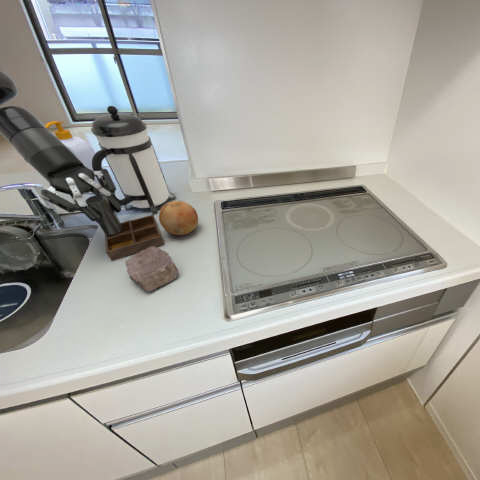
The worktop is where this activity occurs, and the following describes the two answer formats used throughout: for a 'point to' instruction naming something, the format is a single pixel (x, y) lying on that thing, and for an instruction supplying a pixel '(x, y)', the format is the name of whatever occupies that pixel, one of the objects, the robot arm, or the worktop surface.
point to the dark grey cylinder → (105, 214)
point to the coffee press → (130, 160)
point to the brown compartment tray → (133, 238)
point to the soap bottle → (75, 145)
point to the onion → (178, 217)
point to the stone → (151, 268)
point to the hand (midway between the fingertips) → (109, 215)
